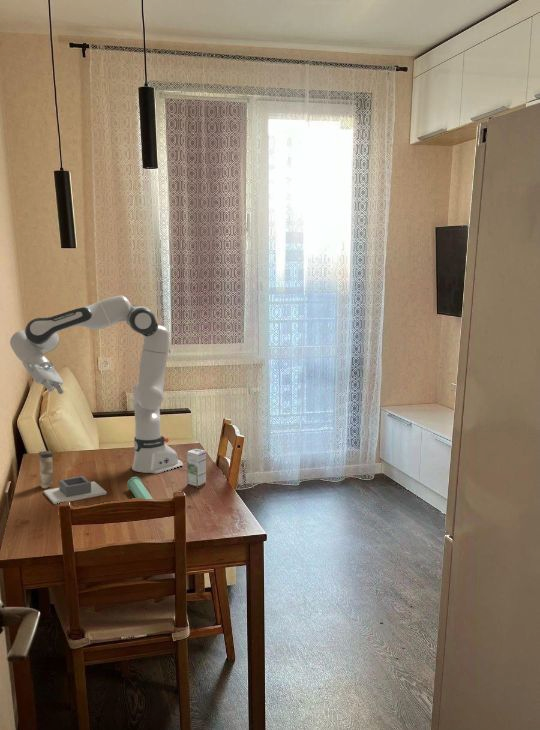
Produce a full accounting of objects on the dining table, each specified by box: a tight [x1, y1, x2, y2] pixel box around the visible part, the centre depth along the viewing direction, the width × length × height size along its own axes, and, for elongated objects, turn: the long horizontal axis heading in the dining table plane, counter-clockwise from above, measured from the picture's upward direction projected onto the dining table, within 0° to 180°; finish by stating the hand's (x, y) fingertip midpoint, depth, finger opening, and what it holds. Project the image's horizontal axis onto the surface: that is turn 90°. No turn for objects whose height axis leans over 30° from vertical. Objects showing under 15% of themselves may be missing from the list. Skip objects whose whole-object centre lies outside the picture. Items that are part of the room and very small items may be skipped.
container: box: [127, 476, 154, 499], centre depth 229 cm, size 6×6×25 cm
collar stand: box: [43, 475, 108, 505], centre depth 234 cm, size 20×14×5 cm
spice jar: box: [38, 450, 54, 489], centre depth 241 cm, size 4×4×14 cm
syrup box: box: [186, 448, 207, 486], centre depth 247 cm, size 6×6×14 cm
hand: (57, 392), depth 241 cm, fingers open, 8 cm apart
